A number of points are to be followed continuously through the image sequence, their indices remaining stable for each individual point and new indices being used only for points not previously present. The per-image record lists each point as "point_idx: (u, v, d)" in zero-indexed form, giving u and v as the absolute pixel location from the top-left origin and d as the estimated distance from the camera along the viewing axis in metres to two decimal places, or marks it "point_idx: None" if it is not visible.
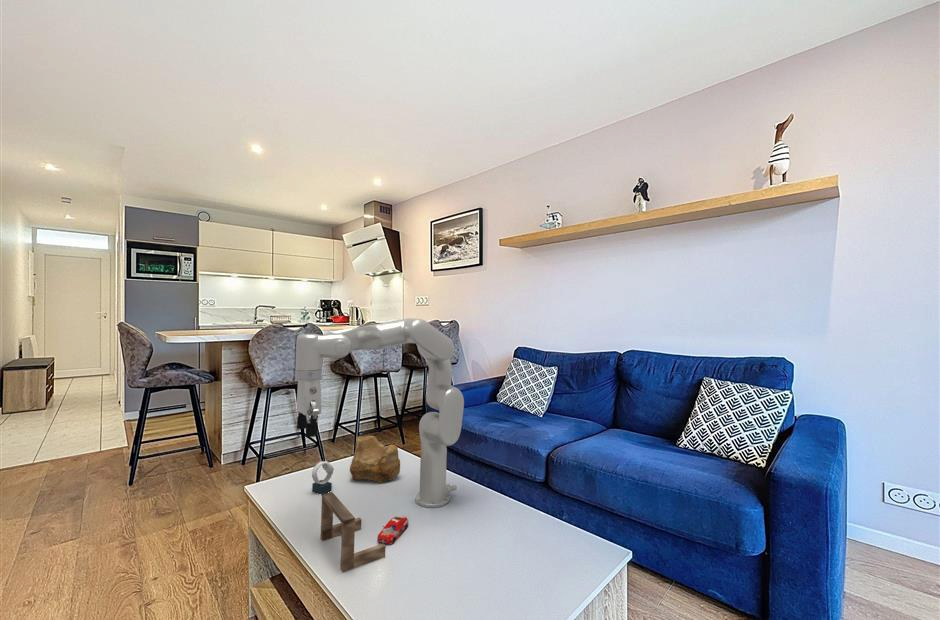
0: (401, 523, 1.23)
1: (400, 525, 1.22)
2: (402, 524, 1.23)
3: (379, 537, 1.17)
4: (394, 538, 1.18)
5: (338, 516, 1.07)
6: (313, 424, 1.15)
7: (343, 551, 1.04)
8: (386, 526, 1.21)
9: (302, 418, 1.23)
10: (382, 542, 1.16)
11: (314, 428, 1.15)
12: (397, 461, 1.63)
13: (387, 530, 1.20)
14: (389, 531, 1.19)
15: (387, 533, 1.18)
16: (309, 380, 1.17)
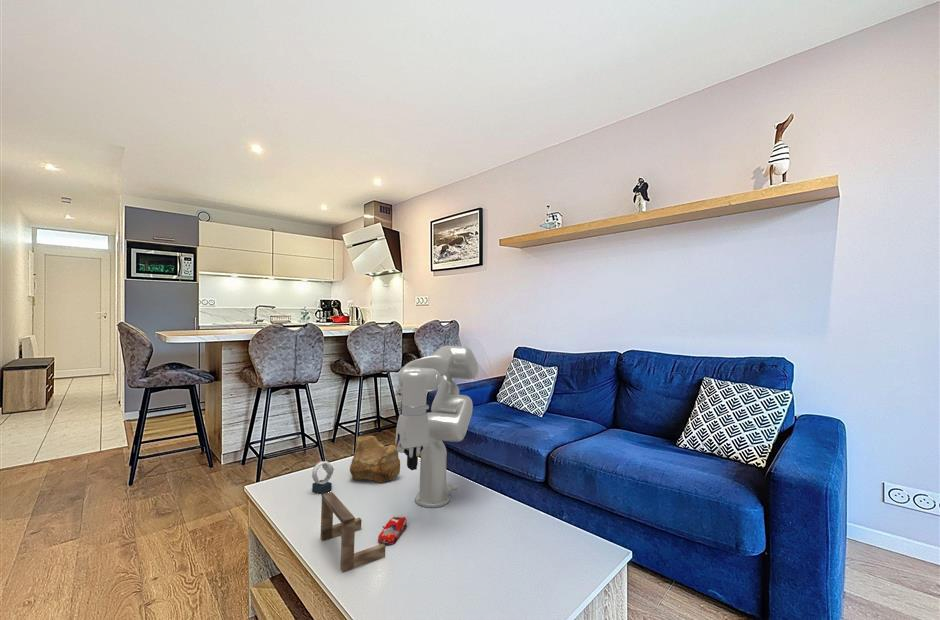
0: (401, 523, 1.23)
1: (400, 525, 1.22)
2: (401, 523, 1.24)
3: (380, 538, 1.17)
4: (395, 538, 1.18)
5: (338, 516, 1.07)
6: None
7: (343, 551, 1.04)
8: (386, 526, 1.21)
9: None
10: (383, 542, 1.16)
11: None
12: (397, 461, 1.63)
13: (387, 530, 1.20)
14: (390, 531, 1.19)
15: (388, 533, 1.18)
16: None
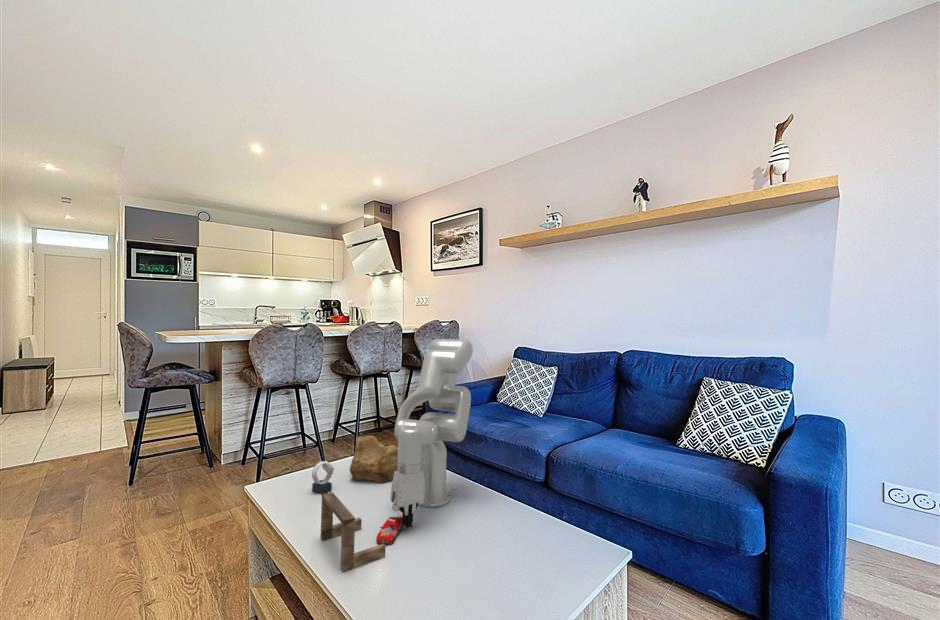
0: (398, 522, 1.24)
1: (397, 525, 1.23)
2: (399, 523, 1.24)
3: (379, 538, 1.17)
4: (393, 538, 1.18)
5: (338, 516, 1.07)
6: None
7: (343, 551, 1.04)
8: (384, 526, 1.21)
9: None
10: (382, 543, 1.16)
11: None
12: None
13: (385, 530, 1.19)
14: (388, 531, 1.19)
15: (386, 533, 1.18)
16: None
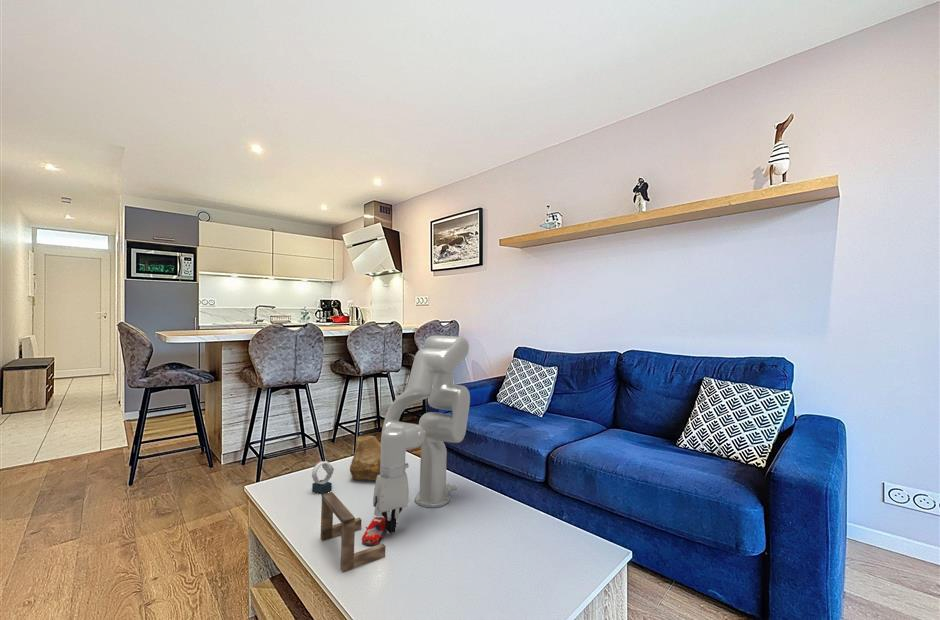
0: (383, 522, 1.23)
1: (383, 525, 1.22)
2: (384, 523, 1.23)
3: (364, 538, 1.16)
4: (379, 538, 1.18)
5: (338, 516, 1.07)
6: None
7: (343, 551, 1.04)
8: (369, 527, 1.20)
9: None
10: (368, 543, 1.15)
11: None
12: None
13: (371, 531, 1.19)
14: (373, 531, 1.19)
15: (372, 534, 1.18)
16: None
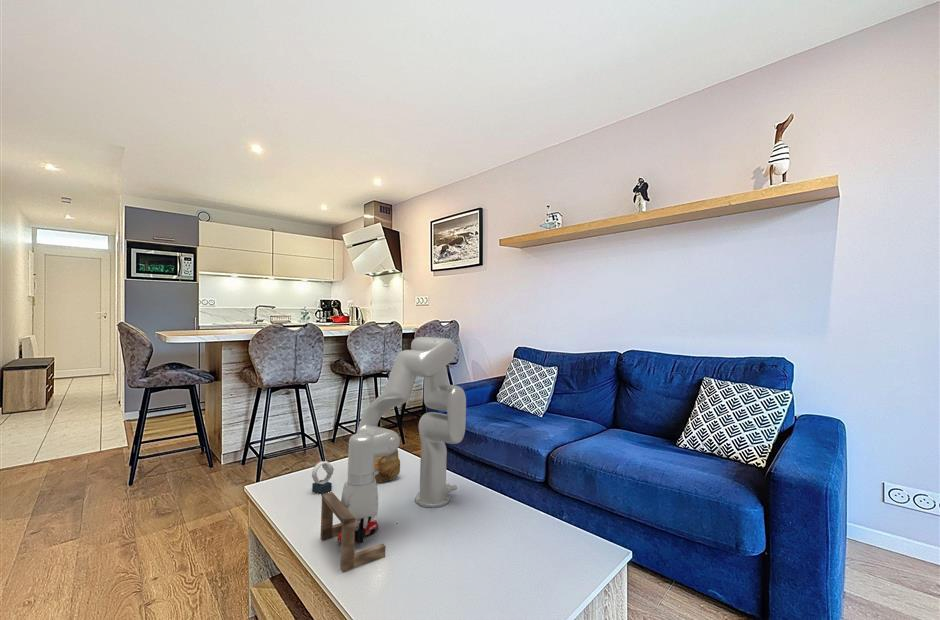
0: None
1: None
2: (367, 527, 1.21)
3: (338, 536, 1.17)
4: None
5: (338, 516, 1.07)
6: None
7: (343, 551, 1.04)
8: None
9: None
10: (338, 542, 1.16)
11: None
12: (397, 461, 1.63)
13: None
14: None
15: None
16: None
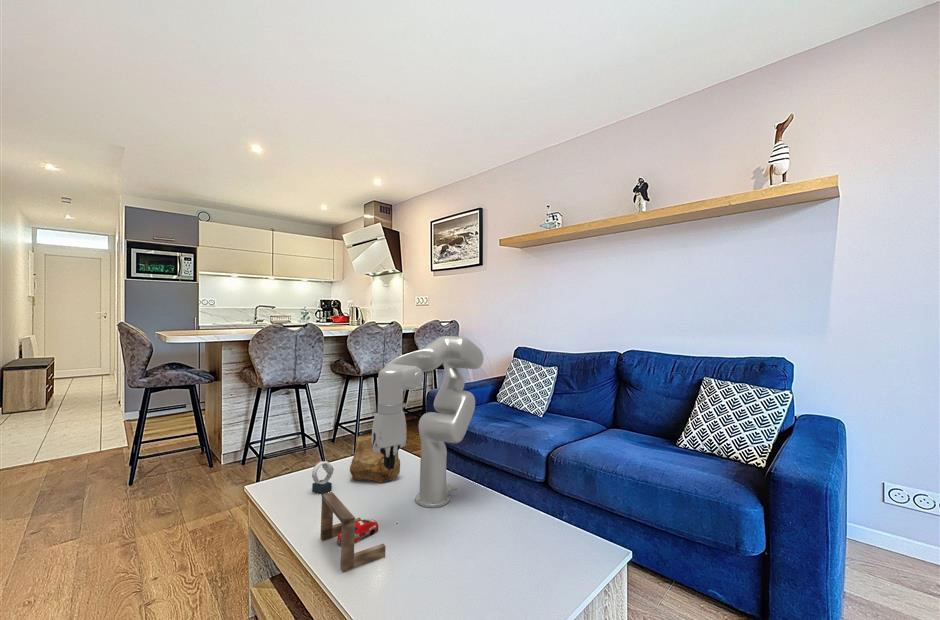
0: (365, 527, 1.20)
1: (363, 529, 1.20)
2: (366, 528, 1.21)
3: (338, 536, 1.17)
4: None
5: (338, 516, 1.07)
6: None
7: (343, 551, 1.04)
8: None
9: None
10: (338, 542, 1.16)
11: None
12: (397, 461, 1.63)
13: None
14: None
15: None
16: None
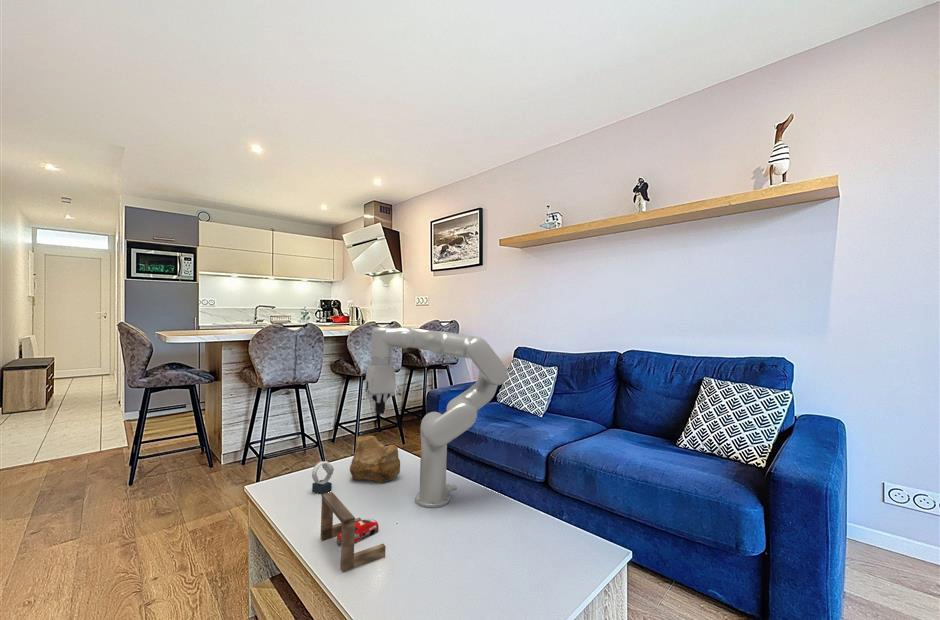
0: (366, 527, 1.20)
1: (363, 529, 1.20)
2: (366, 528, 1.20)
3: (338, 536, 1.17)
4: None
5: (338, 516, 1.07)
6: None
7: (343, 551, 1.04)
8: None
9: None
10: (338, 542, 1.16)
11: None
12: (397, 461, 1.63)
13: None
14: None
15: None
16: None
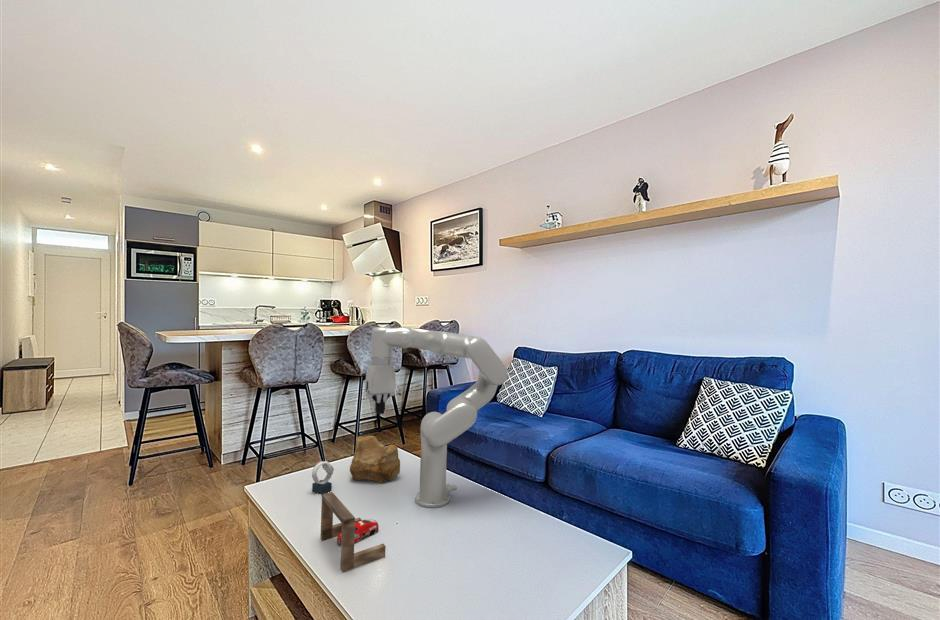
0: (366, 527, 1.20)
1: (363, 529, 1.20)
2: (366, 528, 1.20)
3: (338, 537, 1.17)
4: None
5: (338, 516, 1.07)
6: None
7: (343, 551, 1.04)
8: None
9: None
10: (338, 542, 1.15)
11: None
12: (397, 461, 1.63)
13: None
14: None
15: None
16: None
